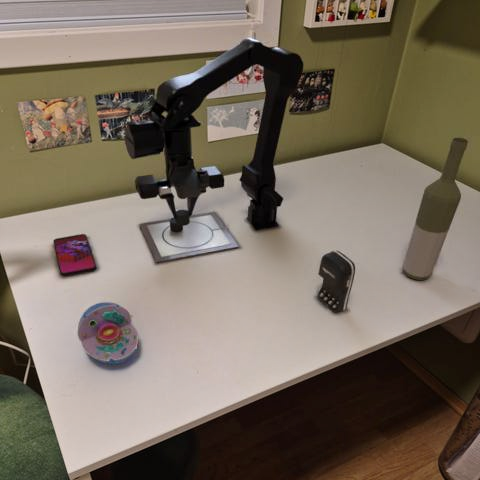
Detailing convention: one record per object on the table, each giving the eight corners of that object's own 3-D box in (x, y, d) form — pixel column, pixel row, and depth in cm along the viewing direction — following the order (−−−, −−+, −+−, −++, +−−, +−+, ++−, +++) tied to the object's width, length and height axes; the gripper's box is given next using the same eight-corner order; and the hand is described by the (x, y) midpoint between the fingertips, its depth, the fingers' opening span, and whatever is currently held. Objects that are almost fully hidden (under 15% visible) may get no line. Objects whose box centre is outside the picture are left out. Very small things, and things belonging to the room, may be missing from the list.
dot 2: (187, 218, 110) (187, 208, 108) (191, 224, 108) (190, 214, 106) (174, 220, 109) (173, 210, 107) (178, 226, 107) (177, 217, 105)
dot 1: (181, 225, 118) (180, 216, 116) (184, 231, 116) (184, 222, 114) (168, 227, 117) (168, 218, 115) (172, 233, 115) (171, 224, 113)
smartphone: (60, 274, 100) (52, 238, 111) (61, 277, 101) (53, 242, 111) (96, 267, 103) (85, 233, 113) (97, 270, 103) (86, 236, 113)
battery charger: (311, 297, 98) (319, 251, 90) (326, 292, 99) (334, 246, 92) (332, 316, 94) (342, 269, 86) (347, 310, 95) (358, 264, 87)
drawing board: (214, 213, 124) (214, 210, 124) (238, 247, 112) (239, 245, 111) (139, 225, 118) (139, 223, 118) (156, 263, 106) (156, 261, 105)
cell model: (98, 384, 79) (87, 343, 72) (76, 341, 86) (64, 301, 80) (152, 362, 83) (147, 322, 76) (127, 323, 90) (120, 284, 84)
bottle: (438, 276, 105) (489, 143, 85) (417, 286, 102) (464, 150, 82) (414, 261, 109) (457, 130, 89) (393, 270, 106) (432, 137, 86)
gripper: (141, 171, 89) (150, 241, 99) (233, 159, 94) (232, 227, 104) (130, 149, 97) (139, 217, 107) (215, 139, 102) (216, 204, 112)
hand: (182, 217), depth 107 cm, fingers closed on dot 2, 3 cm apart
